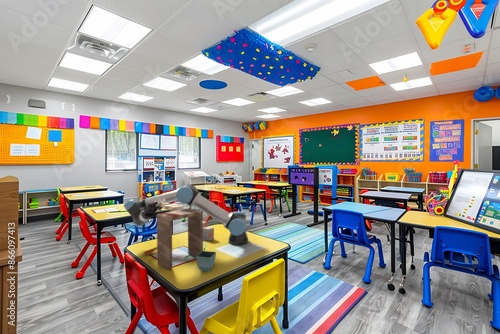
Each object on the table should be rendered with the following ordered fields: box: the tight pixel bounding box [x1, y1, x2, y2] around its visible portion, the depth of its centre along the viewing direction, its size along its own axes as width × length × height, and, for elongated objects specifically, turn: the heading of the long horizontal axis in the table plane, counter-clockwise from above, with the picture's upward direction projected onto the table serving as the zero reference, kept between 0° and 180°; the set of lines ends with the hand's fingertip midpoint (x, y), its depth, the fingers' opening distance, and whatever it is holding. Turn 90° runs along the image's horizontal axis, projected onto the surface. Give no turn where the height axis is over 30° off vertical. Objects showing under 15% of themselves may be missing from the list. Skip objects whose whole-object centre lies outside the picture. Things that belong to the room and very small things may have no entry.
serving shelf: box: [155, 207, 204, 271], centre depth 146 cm, size 24×14×30 cm, turn 140°
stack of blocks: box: [203, 220, 215, 242], centre depth 193 cm, size 21×6×12 cm, turn 47°
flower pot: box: [195, 250, 217, 273], centre depth 134 cm, size 9×9×9 cm
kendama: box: [144, 246, 157, 257], centre depth 164 cm, size 6×6×20 cm
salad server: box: [154, 201, 185, 212], centre depth 145 cm, size 26×7×2 cm, turn 50°
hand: (162, 200), depth 148 cm, fingers closed on salad server, 2 cm apart
